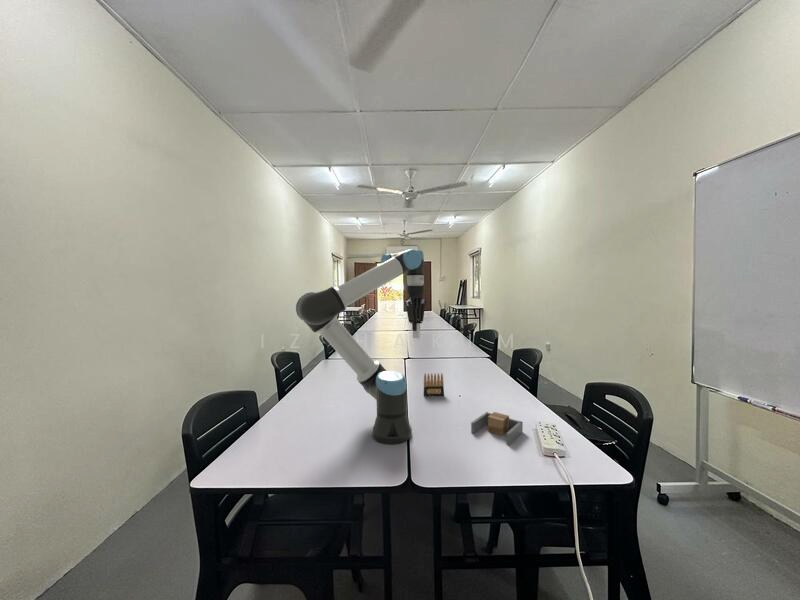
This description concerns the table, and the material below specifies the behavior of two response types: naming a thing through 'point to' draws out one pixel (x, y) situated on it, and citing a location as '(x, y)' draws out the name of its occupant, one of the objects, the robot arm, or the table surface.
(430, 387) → the ammunition clip
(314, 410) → the table surface
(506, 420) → the block
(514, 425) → the corral
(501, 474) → the table surface
